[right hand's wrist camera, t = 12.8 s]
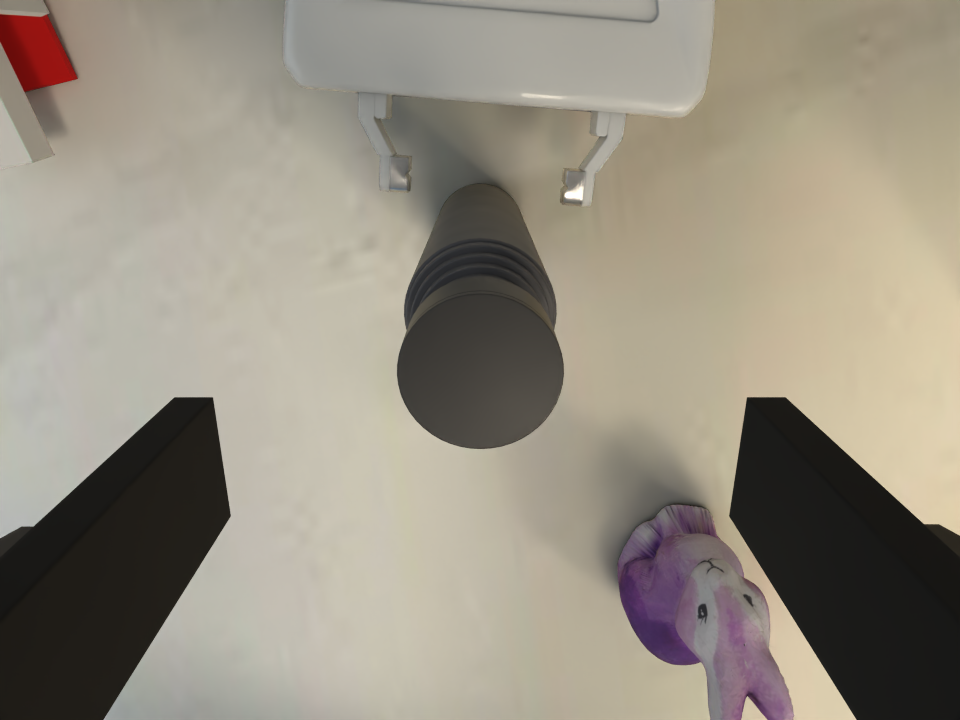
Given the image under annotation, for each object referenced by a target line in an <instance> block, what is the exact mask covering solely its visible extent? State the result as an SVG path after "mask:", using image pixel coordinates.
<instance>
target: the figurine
mask: <svg viewBox="0 0 960 720" xmlns="http://www.w3.org/2000/svg"><path fill="white" fill-rule="evenodd" d="M617 566H618V582H619V589H620V597H621V601H622V605H623V607H624V610H625V612H626V615H627V617H628V619H629V622H630V624H631V626H632V628H633V630H634V632H635V633H636V635H637V636H638V638H639V639H640V641H641V642H642V644H643V645H644V646H645V647H646V648H647V649H648V650H649V651H650V652H651V653H652V654H653V655H655V656H656V657H657V658H659V659H661V660H663V661H665V662H667V663H670V664H674V665H692V664H696V663H699V662H701V663H702V664H703V665H704V668H705V670H706V675H707V686H708V706H709V713H710V719H711V720H741V718H742V712H743V707H744V703H745V699H746V697H747V696H748V697H749V698H750V699H751V700H752V701H753V703H754V704H755V705H756V706H757V708H758V709H759V710H760V711H761V713H762V714H763V715H764V716H765V717H766V718H767V719H768V720H793V717H794V713H793V706H792V702H791V698H790V696H789V691H788V688H787V686H786V684H785V681H784V678H783V676H782V675H781V673H780V671H779V667H778V665H777V664H776V662H775V660H774V659H773V657H772V655H771V653H770V650H769V640H770V616H769V609H768V605H767V602H766V599H765V597H764V595H763V593H762V592H761V590H760V589H759V588H758V587H757V586H756V585H755V584H754V583H752V582H750V581H749V580H747V579H745V578H744V573H743V569H742V566H741V563H740V561H739V559H738V558H737V556H736V555H735V553H734V552H733V551H732V550H731V549H730V548H729V547H728V546H727V545H726V544H725V543H724V542H723V541H721V540H720V539H719V537H718V536H717V535H716V531H715V525H714V521H713V518H712V516H711V514H710V513H709V511H708V510H706V509H704V508H703V507H702V508H701V507H696V506H695V507H693V506H689V505H688V506H686V505H679V504H677V505H671V506H666V507H664V508H663V509H661V511H660V512H659V513H658V514H657V515H656V517H655V518H654V519H653V520H650V521H646V522H643V523H642V524H640V525H639V526H638V527H636V529H635V531H633V533H632V534H631V536H630V538H629V539H628V541H627V543H626V545H625V546H624V548H623V550H622V553H621V555H620V558H619V560H618V563H617Z"/></svg>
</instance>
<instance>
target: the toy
mask: <svg viewBox="0 0 960 720" xmlns="http://www.w3.org/2000/svg"><path fill="white" fill-rule="evenodd" d="M47 14H49V11H48V9H47V7H46V5H45V3H44V1H43V0H0V170H1V169H6V168H10V167H15V166H20V165H25V164H29V163H34V162H36V161H39V160H42V159H45V158H47V157H50V156H53V155H54V153H53V151H52V148H51V146H50V144H49V142H48V140H47V138H46V136H45V134H44V132H43V130H42V128H41V126H40V124H39V122H38V119H37V117H36V115H35V113H34V111H33V109H32V107H31V105H30V103H29V101H28V99H27V97H26V95H25V92H26V91H30V90H35V89H39V88H43V87H47V86H51V85H55V84H59V83H63V82H67V81H72V80H75V79H78V78H77V76H76V74H75V72H74V70H73V68H72V66H71V64H70V62H69V59H68V57H67V55H66V53H65V51H64V49H63V47H62V45H61V43H60V41H59V39H58V37H57V34H56V32H55V30H54V28H53V26H52V24H51V22H50V20H49V18H48V16H47Z"/></svg>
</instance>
